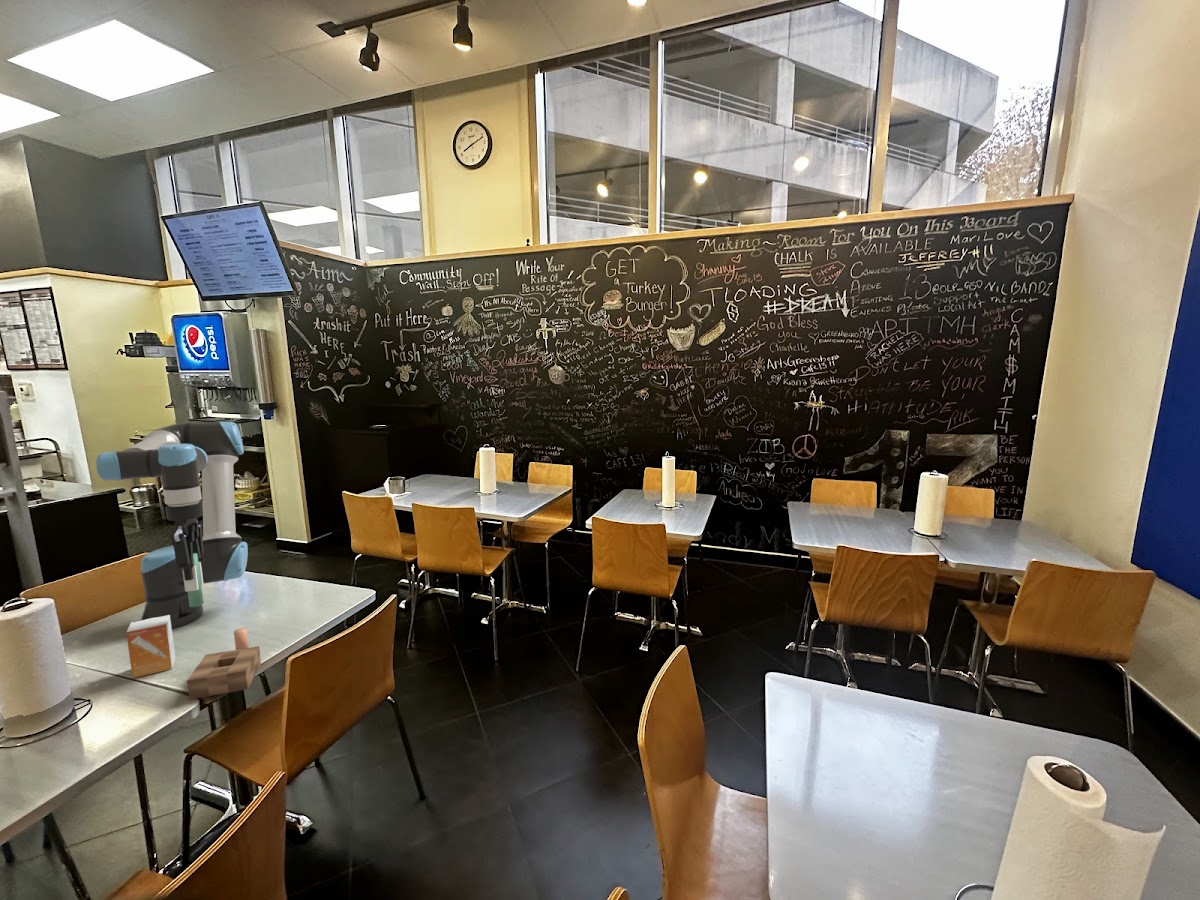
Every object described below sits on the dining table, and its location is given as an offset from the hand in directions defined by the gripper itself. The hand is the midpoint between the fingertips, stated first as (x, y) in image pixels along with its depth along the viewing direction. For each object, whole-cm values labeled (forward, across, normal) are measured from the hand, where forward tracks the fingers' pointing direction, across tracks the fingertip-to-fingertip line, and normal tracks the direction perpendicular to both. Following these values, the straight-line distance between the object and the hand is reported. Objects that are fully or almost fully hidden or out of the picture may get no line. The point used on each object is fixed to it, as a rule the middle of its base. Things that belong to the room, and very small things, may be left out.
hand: (194, 587), depth 137 cm
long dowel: (+5, 0, 0) cm, 5 cm away
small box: (+21, +1, -11) cm, 24 cm away
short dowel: (+21, 0, +9) cm, 23 cm away
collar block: (+21, +14, +10) cm, 27 cm away
